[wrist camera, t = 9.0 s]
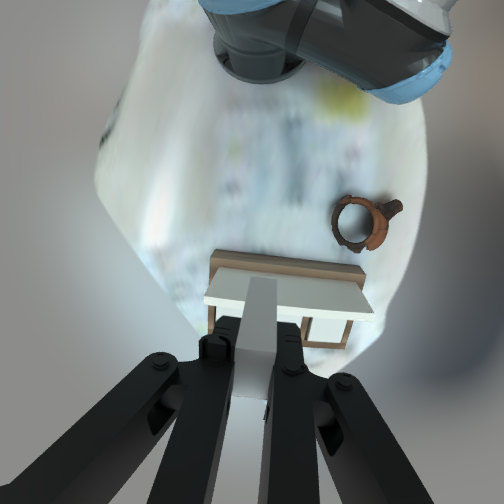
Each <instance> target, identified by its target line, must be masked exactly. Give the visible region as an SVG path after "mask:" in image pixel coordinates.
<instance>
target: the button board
mask: <svg viewBox="0 0 504 504" xmlns="http://www.w3.org/2000/svg"><path fill="white" fill-rule="evenodd" d="M219 267H225V268H233V269H242V270H250V271H258V272H267V273H276V274H284V275H293V276H302V277H312V278H321V279H331V280H340V281H350V282H356V283H357V285H358V286H359V288H360V290H361V291H362V290H363V286H364V282H365V278H366V274H365V273H364V271H363V270H362V268H361V267H360V266H355V265H347V264H338V263H329V262H320V261H312V260H303V259H294V258H286V257H277V256H268V255H260V254H251V253H243V252H234V251H225V250H217V249H215V251H214V252H213V254H212V255H211V257H210V273H209V285H210V283H211V281H212V279H213V277H214V276H215V274H216V272H217V270H218V268H219ZM309 318H310V317H304V316H303V318H302V322H301V327H300V330H301V338H302V347H313V348H329V349H345V346H346V343H347V340H348V337H349V334H350V331H351V327H352V324H353V321H354V320H347V323H346V326H345V329H344V333H343V336H342V339H341V342H340V343H333V342H317V341H308V340H307V333H306V331H307V327H308V323H309ZM215 323H216V306H211V305H208V334H212V332H213V329H214V326H215Z"/></svg>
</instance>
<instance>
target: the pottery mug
mask: <svg viewBox="0 0 504 504" xmlns="http://www.w3.org/2000/svg"><path fill="white" fill-rule="evenodd" d="M350 203H351V204H360V205H363V206H365V207H366V208H367V209H368V210H369V211H370V212H371V214H372V216H373V221H374V225H373V230H372V232H371V234H370V236H369V237H368V238H367V239H365V240H364V241H362V242H359V243H352V242H349V241H347V240H345V239H344V238H343V237H342V236H341V234H340V232H339V229H338V218H339V215H340V213H341V211H342V210H343V209H344V208H345V206H346V205H348V204H350ZM375 205H376V204H375V203H373V202H372V201H369V200H368V199H365V198H361V197H352V196H351V195H349V196H347V197H345V198H343V199H342V200H341V201H340V202H339V203H338V204H337V205H336V207H335V210H334V212H333V215H332V222H331V224H332V231H333V234H334V236H335V238H336V240H337V242H338V244H339V245H340V246H342V245H345V246H347V248H348V249H349V250H351V251H353V252H354V253H361V251H362V249H363V248H364V247H365V246H366V245H367V248H366V249H367V250H369V251H371V250H375V249H376V248H378V247H379V246H380V245H381V244H382V243H383V242H384V240H385V238H386V235H387V232H388V227H389V220H390V219H391V218H392V217H394V216H395V215H396V214H397V213H398V212H401V211H402V210H403V205H402V203H401V201H399V200H397V199H395V200H392V201H390V202H388V203H385V204H382V203H380V202H379V203H378V209H376V208H375Z"/></svg>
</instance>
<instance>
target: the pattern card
mask: <svg viewBox="0 0 504 504" xmlns="http://www.w3.org/2000/svg"><path fill="white" fill-rule="evenodd" d="M251 276H253V277H262V278H271V279H277V314H284V315H294V316H304V317H315V318H328V319H341V320H356V321H372V320H373V317H374V312H373V310H372V308H371V307H370V305H369V303H368V301H367V300H366V298H365V296H364V295H363V293H362V291H361V290H360V288H359V286H358V285H357V283H356V282H350V281H340V280H331V279H321V278H312V277H302V276H293V275H284V274H276V273H267V272H258V271H250V270H242V269H233V268H225V267H219V268H218V270H217V272H216V274H215V276H214V277H213V279H212V281H211V283H210V285H209V287H208V289H207V291H206V293H205V295H204V304H205V305H211V306H218V307H226V308H233V309H241V310H244V305H245V301H246V296H247V292H248V287H249V282H250V278H251Z"/></svg>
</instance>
